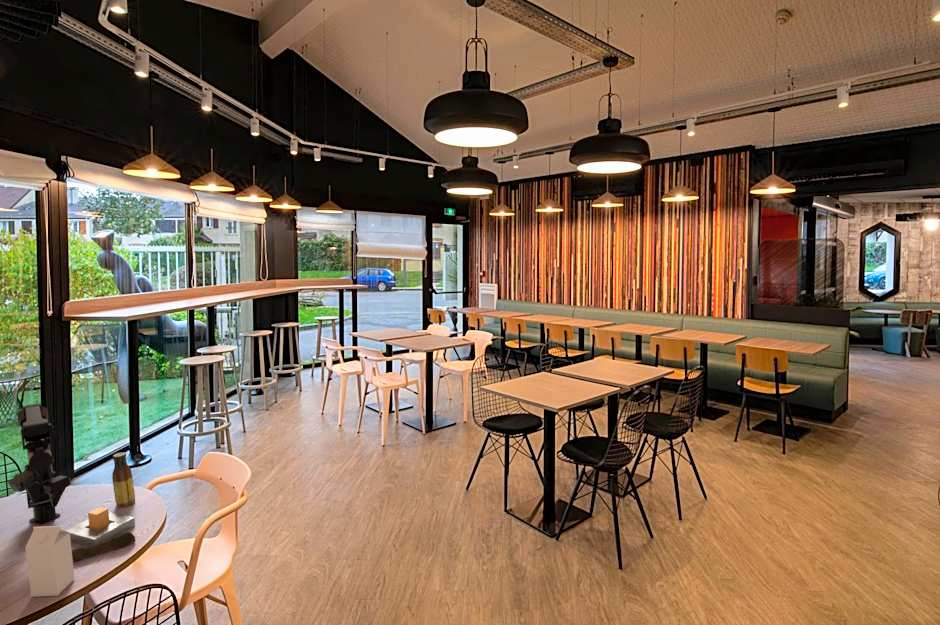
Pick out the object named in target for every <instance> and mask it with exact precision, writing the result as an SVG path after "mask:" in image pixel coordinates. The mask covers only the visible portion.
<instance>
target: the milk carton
mask: <svg viewBox="0 0 940 625" xmlns="http://www.w3.org/2000/svg"><path fill="white" fill-rule="evenodd" d="M32 529H33V530H32V532H31V535H30V537H29V539H28V541H27V543H26V545H25V554H26V563H27V565H26V566H27V572H28V580H29V588H30V590H29V591H30V595H31V596H30V597H31V598H32V597H33V598H35V597H37V598H38V597H53V596H54V597H55V596H59V595H60V594H61V593H62V592H63V591H64V590H66V588H67V587H68V586H70V584H72V583H73V582H74V580H75V579H76V578H75V570H74V568H75V567H74V561H73V559H72V550H73V549H72V542H71V540H70V532H67V531H66V530H63V529H61V526H60V525H54V526H53V525H49V526H33V527H32Z"/></svg>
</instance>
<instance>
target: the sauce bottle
mask: <svg viewBox="0 0 940 625" xmlns="http://www.w3.org/2000/svg"><path fill="white" fill-rule="evenodd" d="M126 458H127V454H126V452H116V453H114V454H113V455H112V460H113V462H114V468H113V470H112V474H111V475H112V486H113V493H114V500H115V503H116V506H117V507H118V506H119V507H120V508H124V506H125V507H128V505H129V506H131V505H132V504H134V503H135V502H136V494H135V493H136V492H135V486H134V479H133V478H134V477H133V473H132V469H131V466H129V465H128V463H127V459H126ZM119 507H118V508H119Z"/></svg>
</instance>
